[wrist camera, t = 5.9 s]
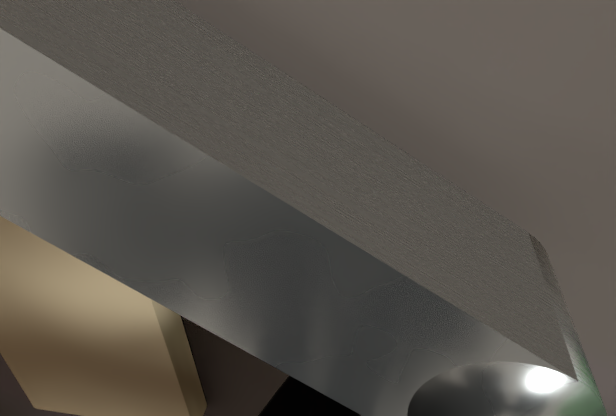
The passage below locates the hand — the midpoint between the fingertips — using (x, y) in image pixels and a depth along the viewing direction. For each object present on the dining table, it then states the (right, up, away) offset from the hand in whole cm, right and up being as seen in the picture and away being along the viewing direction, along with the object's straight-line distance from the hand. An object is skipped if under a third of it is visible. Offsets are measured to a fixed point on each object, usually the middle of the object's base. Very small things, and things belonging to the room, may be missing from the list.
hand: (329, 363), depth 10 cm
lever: (-3, +5, -1) cm, 6 cm away
